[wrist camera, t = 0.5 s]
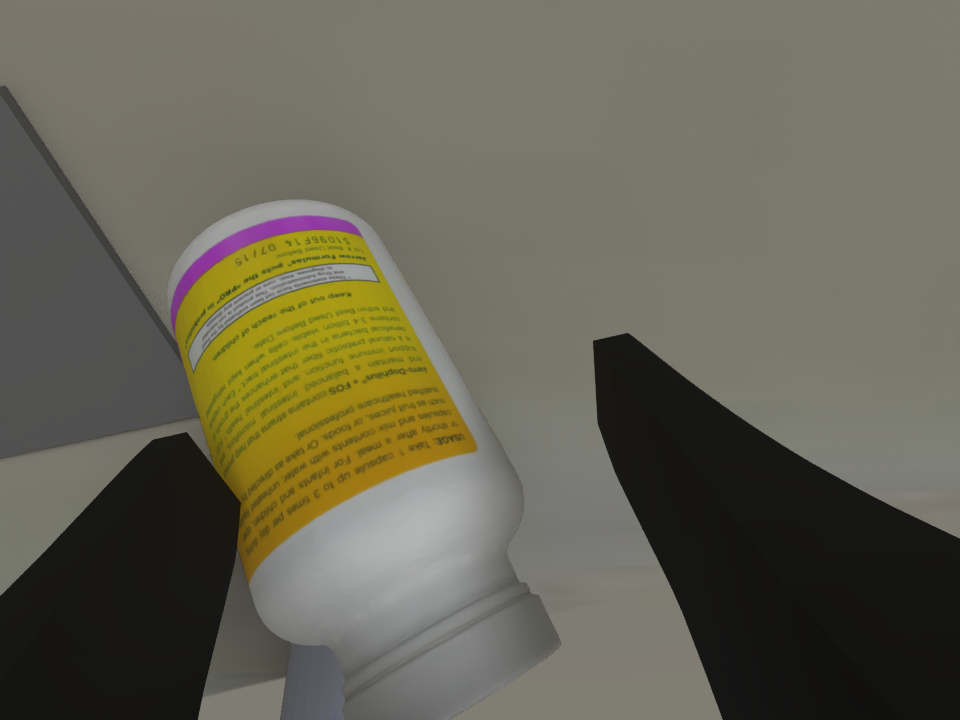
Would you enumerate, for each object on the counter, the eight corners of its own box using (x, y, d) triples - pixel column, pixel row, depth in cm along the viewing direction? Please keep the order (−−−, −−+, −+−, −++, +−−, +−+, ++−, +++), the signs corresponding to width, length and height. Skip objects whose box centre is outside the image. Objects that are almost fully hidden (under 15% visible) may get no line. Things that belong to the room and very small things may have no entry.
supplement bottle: (103, 295, 14) (224, 861, 9) (292, 141, 14) (567, 653, 8) (274, 367, 20) (414, 731, 15) (414, 264, 19) (620, 606, 14)
